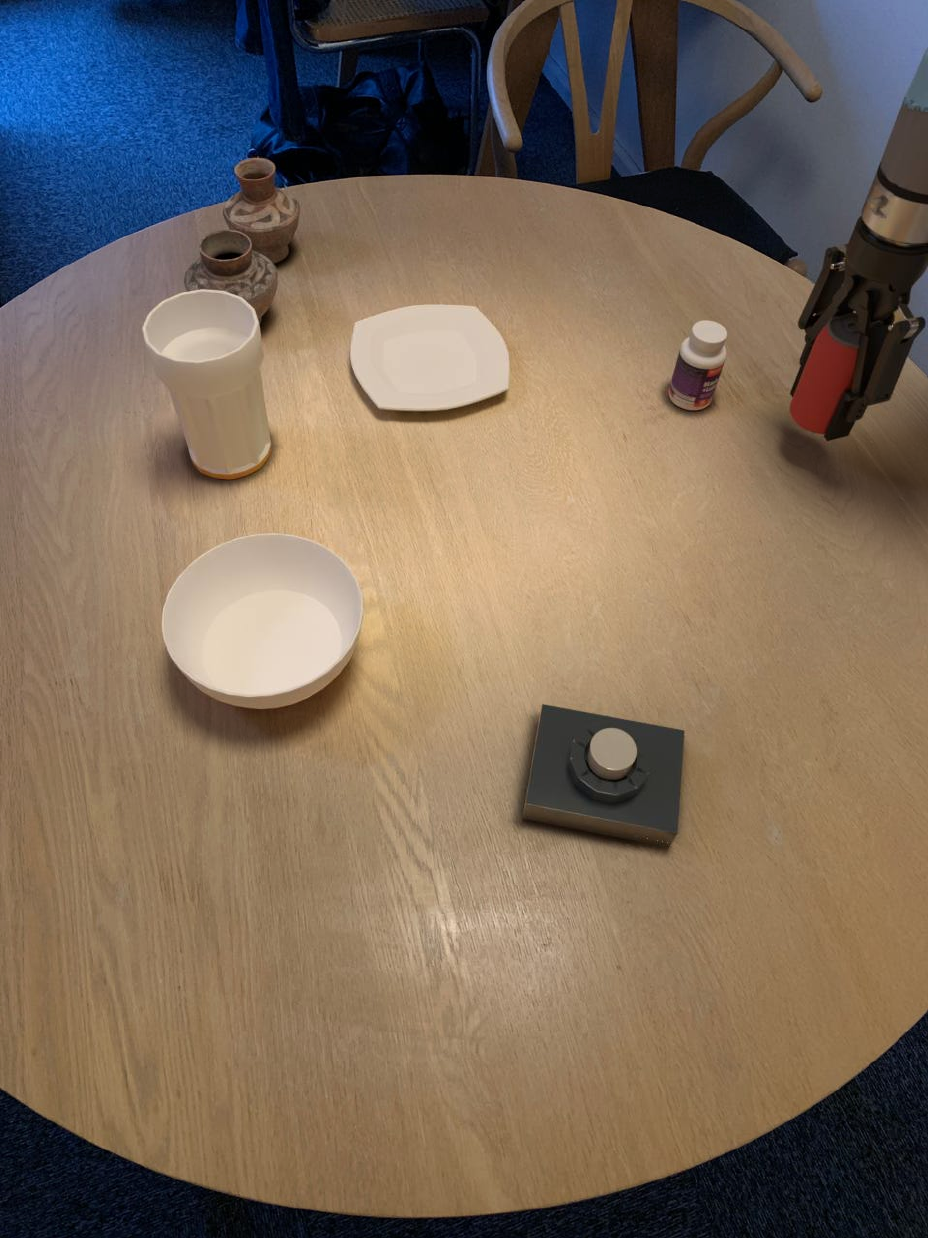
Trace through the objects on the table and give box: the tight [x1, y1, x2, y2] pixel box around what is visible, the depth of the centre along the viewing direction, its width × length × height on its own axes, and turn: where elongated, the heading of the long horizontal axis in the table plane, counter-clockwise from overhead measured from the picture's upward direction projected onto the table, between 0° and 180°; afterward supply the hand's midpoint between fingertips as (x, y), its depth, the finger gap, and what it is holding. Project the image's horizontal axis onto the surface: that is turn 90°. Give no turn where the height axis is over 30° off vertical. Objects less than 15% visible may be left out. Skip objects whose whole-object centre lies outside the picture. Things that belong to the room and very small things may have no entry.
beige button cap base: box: [522, 703, 685, 848], centre depth 82 cm, size 13×10×5 cm
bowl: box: [161, 532, 365, 710], centre depth 88 cm, size 18×18×7 cm
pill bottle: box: [668, 320, 728, 411], centre depth 110 cm, size 5×5×10 cm
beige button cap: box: [587, 728, 637, 780], centre depth 80 cm, size 4×4×2 cm
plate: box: [349, 304, 511, 412], centre depth 114 cm, size 19×19×2 cm
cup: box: [141, 289, 273, 480], centre depth 99 cm, size 11×11×17 cm
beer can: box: [789, 311, 872, 435], centre depth 100 cm, size 7×7×12 cm
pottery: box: [183, 157, 301, 325], centre depth 118 cm, size 11×25×12 cm, turn 173°
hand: (818, 414), depth 105 cm, fingers closed on beer can, 7 cm apart
